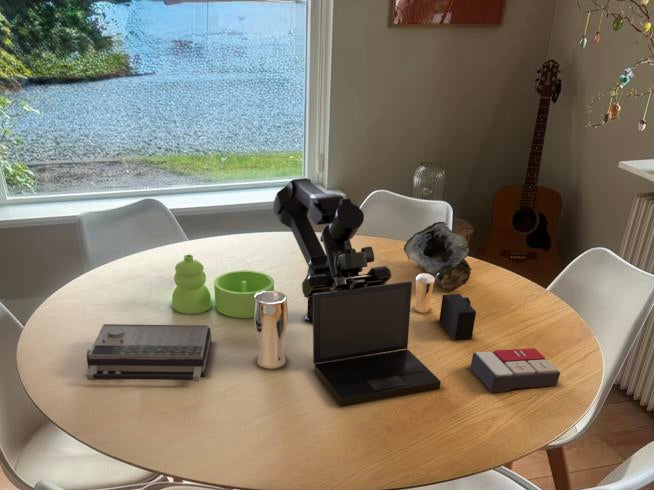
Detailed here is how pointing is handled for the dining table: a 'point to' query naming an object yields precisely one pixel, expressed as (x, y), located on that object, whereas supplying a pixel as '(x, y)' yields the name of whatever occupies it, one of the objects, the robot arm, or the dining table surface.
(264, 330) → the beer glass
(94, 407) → the dining table surface
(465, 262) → the hollow geode rock
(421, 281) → the shiny metal cylinder
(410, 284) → the netbook screen
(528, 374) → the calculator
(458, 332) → the digital camera
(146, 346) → the radio
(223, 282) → the green toy parts
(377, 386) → the dark flat rectangular base
